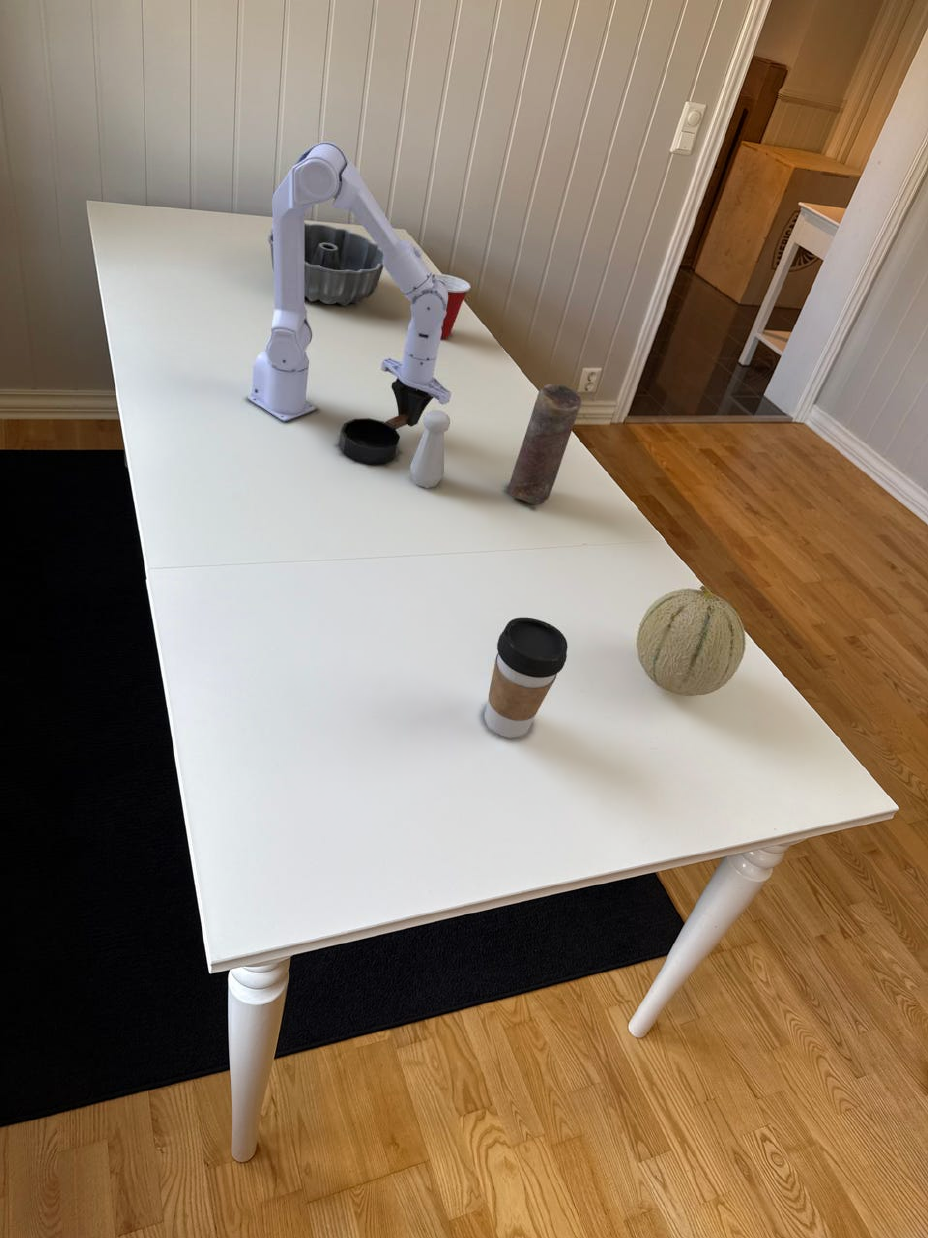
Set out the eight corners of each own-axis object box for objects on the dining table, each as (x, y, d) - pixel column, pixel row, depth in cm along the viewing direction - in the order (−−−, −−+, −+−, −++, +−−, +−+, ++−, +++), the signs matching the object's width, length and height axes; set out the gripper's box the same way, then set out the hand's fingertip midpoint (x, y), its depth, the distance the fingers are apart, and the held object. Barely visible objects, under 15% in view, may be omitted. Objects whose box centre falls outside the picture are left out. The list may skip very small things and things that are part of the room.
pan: (370, 471, 149) (373, 452, 147) (328, 444, 153) (330, 425, 150) (433, 441, 161) (437, 423, 158) (392, 417, 164) (395, 399, 162)
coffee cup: (472, 693, 115) (498, 609, 105) (534, 699, 117) (565, 616, 107) (477, 743, 109) (505, 658, 99) (542, 748, 110) (576, 665, 101)
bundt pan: (403, 298, 207) (410, 256, 200) (332, 325, 188) (337, 279, 182) (317, 257, 215) (321, 215, 208) (240, 279, 196) (242, 233, 190)
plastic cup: (451, 323, 202) (462, 271, 194) (466, 345, 195) (477, 292, 187) (407, 320, 198) (415, 267, 190) (419, 342, 191) (429, 288, 183)
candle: (553, 494, 156) (586, 393, 143) (542, 514, 150) (576, 410, 137) (514, 479, 157) (543, 377, 144) (501, 498, 151) (530, 394, 138)
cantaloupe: (656, 725, 118) (698, 645, 108) (603, 649, 127) (638, 570, 117) (741, 707, 124) (788, 631, 114) (685, 637, 133) (724, 560, 123)
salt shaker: (436, 494, 148) (451, 427, 140) (404, 485, 148) (416, 417, 140) (444, 477, 153) (459, 411, 144) (412, 468, 153) (425, 401, 144)
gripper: (467, 364, 151) (452, 433, 160) (404, 330, 156) (392, 398, 165) (442, 374, 147) (427, 444, 155) (377, 338, 152) (367, 408, 160)
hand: (408, 421), depth 160 cm, fingers closed on pan, 2 cm apart
